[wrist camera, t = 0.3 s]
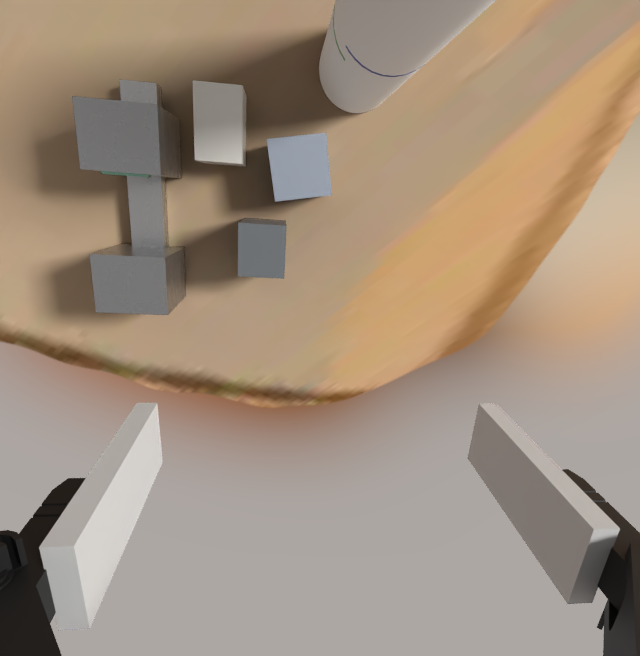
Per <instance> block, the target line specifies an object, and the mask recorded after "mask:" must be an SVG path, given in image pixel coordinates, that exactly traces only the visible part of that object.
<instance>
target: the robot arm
mask: <svg viewBox="0 0 640 656" xmlns="http://www.w3.org/2000/svg"><path fill="white" fill-rule="evenodd" d="M468 459H469V461H470V462H471V464H472V465H473V467H474V468H475V470H476V471H477V473H478V474H479V476H480V477H481V478H482V480H483V481H484V483H485V484H486V486H487V487H488V488H489V490H490V491H491V493H492V494H493V496H494V497H495V499H496V500H497V502H498V503H499V505H500V506H501V508H502V509H503V510H504V512H505V513H506V515H507V516H508V518H509V519H510V521H511V522H512V523H513V525H514V526H515V528H516V529H517V531H518V532H519V534H520V535H521V537H522V538H523V540H524V541H525V542H526V544H527V545H528V547H529V548H530V550H531V551H532V553H533V554H534V556H535V557H536V559H537V560H538V561H539V563H540V564H541V566H542V567H543V569H544V570H545V572H546V573H547V575H548V576H549V577H550V579H551V580H552V582H553V583H554V585H555V586H556V588H557V589H558V590H559V592H560V593H561V595H562V596H563V598H564V599H565V601H566V602H567V604H574V603H592V602H593V599H594V596H595V594H596V591H597V588H598V587H599V588H600V589H601V591H602V592H603V593H604V594H605V596H606V597H607V598H608V601H607V603H606V606H605V609H604V611H603V614H602V616H601V618H600V621H599V624H598V626H597V628H599V629H602V628H603V626H604V650H603V653H604V655H603V656H640V533H639V532H638V531H637V530H636V529H635V528H634V527H633V526H632V525H631V524H630V523H629V522H628V521H627V520H625V519H624V517H622V516H621V515H620V514H619V513H618V512H617V511H616V510H615V509H614V508H613V507H612V506H611V505H610V504H609V503H608V502H606V501H605V499H604V498H603V497H602V496H601V495H600V494H599V493H596V491H595V489H593V488H592V487H591V486H590V485H589V484H588V483H587V482H586V481H585V480H584V479H583V478H581V477H579V476H578V475H576V474H575V473H573V472H571V471H570V470H568V469H565V470H562V469H561V468H559V466H558V465H556V464H555V462H553V460H552V459H550V457H549V456H548V455H546V453H545V452H544V451H543V450H541V448H540V447H539V446H538V445H537V444H536V443H535V442H534V441H533V440H532V439H531V438H530V437H529V436H528V435H526V433H525V432H524V431H523V430H522V429H521V428H520V427H519V426H518V425H517V424H516V423H515V422H514V421H513V420H512V419H511V418H510V417H509V416H508V415H507V414H506V413H505V412H504V411H503V410H502V409H501V408H500V407H499V406H498V405H497V404H479V406H478V411H477V415H476V420H475V426H474V431H473V435H472V440H471V445H470V450H469V455H468ZM161 465H162V450H161V439H160V428H159V417H158V405H157V403H136V405H135V406H134V408H133V409H132V411H131V412H130V414H129V415H128V417H127V418H126V420H125V421H124V423H123V424H122V426H121V427H120V429H119V430H118V432H117V433H116V435H115V436H114V438H113V439H112V440H111V442H110V443H109V445H108V447H107V448H106V449H105V451H104V452H103V454H102V455H101V457H100V458H99V460H98V461H97V463H96V464H95V465H94V467H93V468H92V470H91V471H90V473H89V474H88V476H87V477H86V478H69V479H67V480H66V481H64V482H63V483H61V484H60V485H59V486H57V487H56V488H55V489H53V490H52V491H51V493H50V494H49V495H48V497H47V498H46V499H45V500H44V502H43V503H42V506H41V507H39V508H38V510H37V511H36V513H35V514H34V515H33V518H31V519H30V520H29V521H28V523H27V524H26V525H25V527H24V528H23V529H22V531H21V532H20V533H19V534H18V533H17V532H13V531H9V530H7V531H0V656H61V653H60V650H59V647H58V645H57V642H56V639H55V637H54V634H53V631H52V628H51V625H50V622H51V620H52V619H53V616H54V615H55V619H56V623H57V628H58V631H59V630H78V629H90V627H91V625H92V623H93V620H94V618H95V616H96V613H97V611H98V609H99V606H100V604H101V602H102V600H103V597H104V595H105V593H106V590H107V588H108V586H109V584H110V581H111V579H112V577H113V575H114V572H115V570H116V567H117V565H118V563H119V561H120V558H121V556H122V554H123V552H124V549H125V547H126V545H127V542H128V540H129V538H130V536H131V533H132V531H133V529H134V526H135V524H136V522H137V520H138V517H139V515H140V513H141V510H142V508H143V506H144V504H145V501H146V499H147V497H148V494H149V492H150V490H151V487H152V485H153V483H154V481H155V478H156V476H157V474H158V471H159V469H160V467H161Z"/></svg>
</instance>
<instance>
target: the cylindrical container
mask: <svg viewBox="0 0 640 656" xmlns="http://www.w3.org/2000/svg"><path fill="white" fill-rule="evenodd" d="M495 1H496V0H336V3H335V6H334V10H333V13H332V17H331V20H330V24H329V27H328V31H327V34H326V38H325V41H324V45H323V48H322V52H321V56H320V61H319V76H320V81H321V85H322V88H323V90H324V92H325V94H326V96H327V97H328V98H329V99H330V101H331V102H332V103H333V104H334V105H336V106H337V107H338V108H340V109H342V110H344V111H347V112H350V113H364V112H368V111H370V110H373V109H375V108H376V107H378V106H379V105H380V104H381V103H382V102H384V101H385V100H386V99H387V98H388V97H389V96H390V95H391V94H392V93H393V92H395V91H396V90H397V89H398V88H399V87H400V86H401V85H402V84H403V83H405V82H406V81H407V80H408V79H409V78H410V77H411V76H412V75H414V74H415V73H416V72H417V71H418V70H419V69H420V68H421V67H422V66H424V65H425V64H426V63H427V62H428V61H429V60H430V59H431V58H432V57H434V56H435V55H436V54H437V53H438V52H439V51H440V50H441V49H442V48H443V47H445V46H446V45H447V44H448V43H449V42H450V41H451V40H452V39H453V38H455V37H456V36H457V35H458V34H459V33H460V32H461V31H462V30H463V29H464V28H466V27H467V26H468V25H469V24H470V23H471V22H472V21H473V20H474V19H476V18H477V17H478V16H479V15H480V14H481V13H482V12H483V11H485V10H486V9H487V8H488V7H489V6H490V5H491V4H492V3H493V2H495Z"/></svg>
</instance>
